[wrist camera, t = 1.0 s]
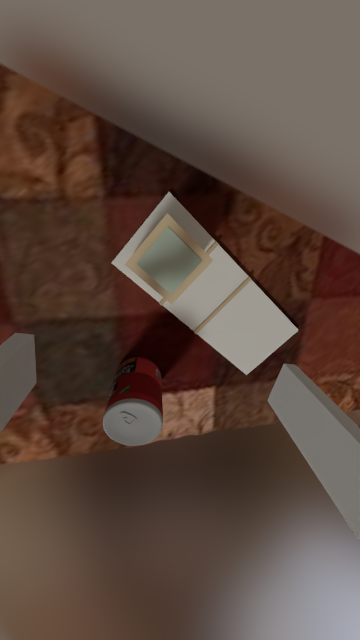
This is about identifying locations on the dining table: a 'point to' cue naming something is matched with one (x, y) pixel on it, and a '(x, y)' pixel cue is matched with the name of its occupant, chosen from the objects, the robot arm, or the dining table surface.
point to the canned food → (135, 403)
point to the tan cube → (169, 260)
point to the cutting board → (216, 296)
